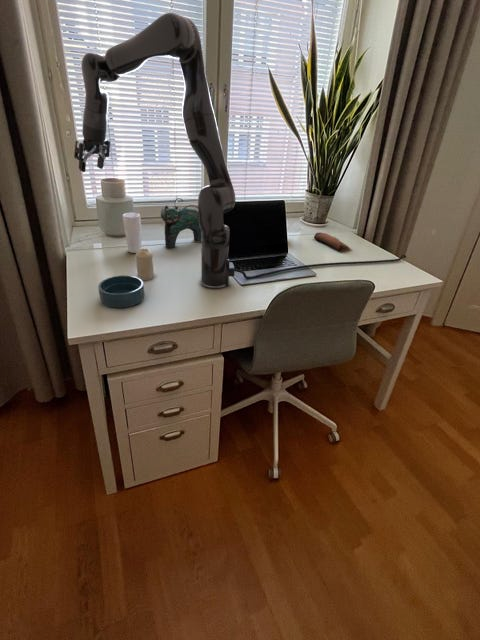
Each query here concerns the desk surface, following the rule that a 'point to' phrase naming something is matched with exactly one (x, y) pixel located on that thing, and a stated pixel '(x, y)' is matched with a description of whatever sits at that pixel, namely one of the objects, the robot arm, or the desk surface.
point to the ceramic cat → (180, 223)
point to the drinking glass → (132, 231)
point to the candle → (144, 264)
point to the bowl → (121, 291)
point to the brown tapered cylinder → (331, 241)
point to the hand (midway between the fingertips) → (91, 169)
